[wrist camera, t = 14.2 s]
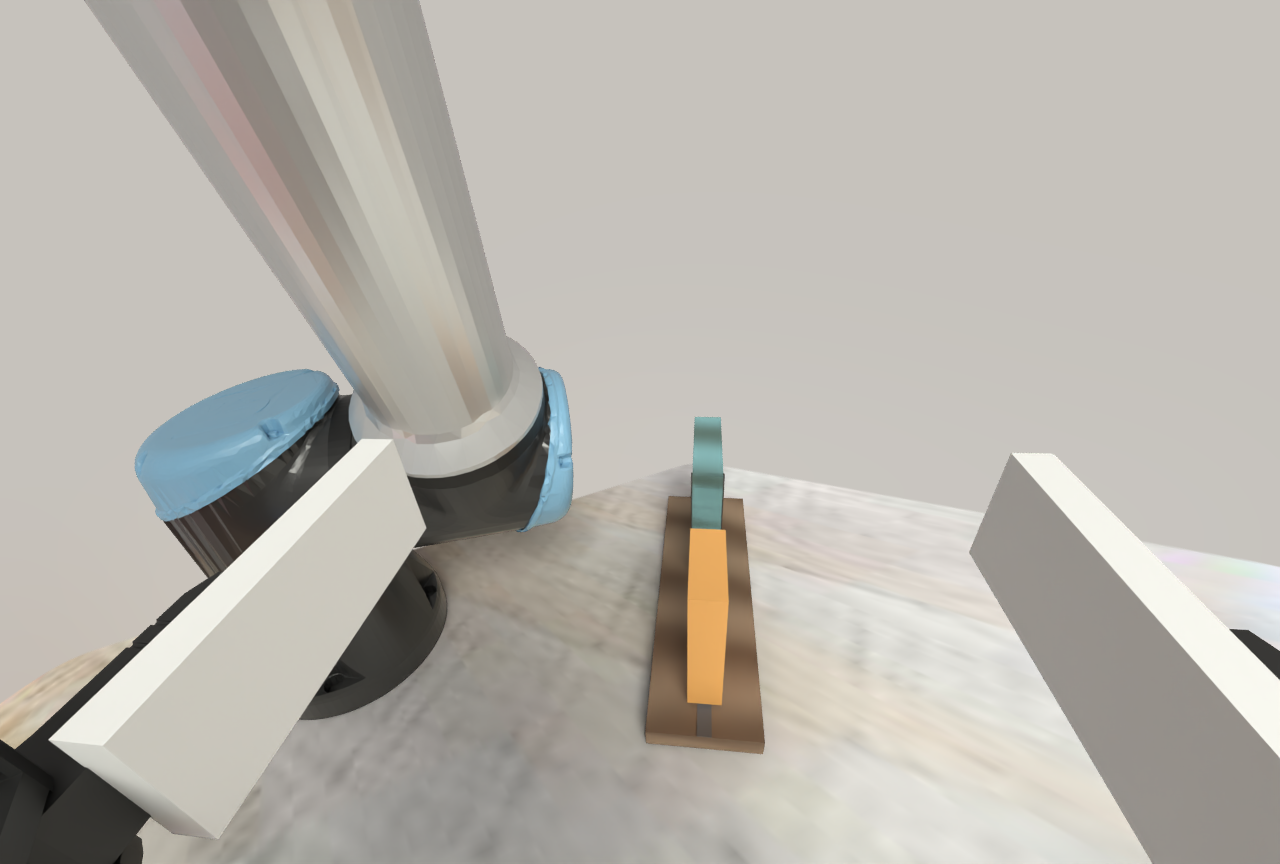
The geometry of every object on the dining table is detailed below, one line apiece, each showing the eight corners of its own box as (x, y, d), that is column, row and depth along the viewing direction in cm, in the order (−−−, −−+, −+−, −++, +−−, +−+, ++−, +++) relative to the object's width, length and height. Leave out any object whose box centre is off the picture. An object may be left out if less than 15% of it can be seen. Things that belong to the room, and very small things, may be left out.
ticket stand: (762, 754, 34) (782, 635, 27) (646, 742, 35) (636, 626, 28) (741, 509, 55) (749, 407, 48) (668, 506, 56) (666, 406, 49)
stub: (721, 705, 35) (728, 601, 29) (687, 702, 36) (687, 599, 30) (719, 631, 40) (725, 529, 34) (689, 629, 41) (690, 528, 35)
